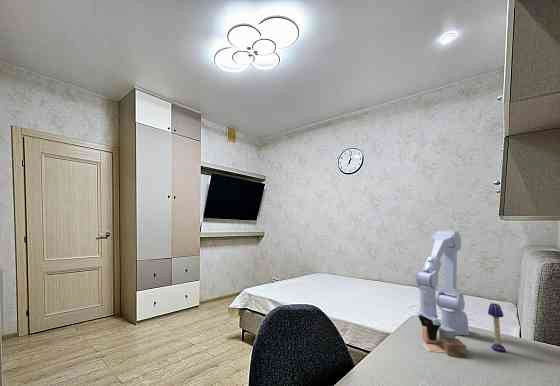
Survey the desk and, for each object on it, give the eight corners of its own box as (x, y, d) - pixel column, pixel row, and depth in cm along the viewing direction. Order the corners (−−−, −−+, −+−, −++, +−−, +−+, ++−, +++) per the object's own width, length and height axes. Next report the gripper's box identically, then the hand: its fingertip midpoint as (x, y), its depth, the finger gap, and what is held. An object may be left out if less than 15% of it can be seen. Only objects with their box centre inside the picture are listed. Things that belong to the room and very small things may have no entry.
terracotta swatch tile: (438, 345, 103) (438, 344, 103) (445, 352, 98) (445, 351, 98) (422, 344, 104) (422, 343, 104) (428, 351, 98) (428, 350, 98)
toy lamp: (507, 354, 97) (504, 306, 99) (491, 351, 99) (488, 304, 101) (504, 348, 101) (501, 303, 103) (489, 346, 104) (486, 301, 106)
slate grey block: (448, 339, 109) (447, 327, 109) (455, 344, 105) (455, 330, 105) (439, 340, 108) (438, 327, 109) (446, 344, 104) (445, 331, 105)
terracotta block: (433, 339, 108) (432, 326, 109) (437, 343, 104) (436, 330, 105) (422, 338, 109) (422, 325, 109) (426, 342, 105) (426, 329, 106)
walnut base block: (458, 349, 100) (458, 338, 101) (466, 357, 95) (465, 345, 95) (441, 348, 102) (440, 337, 102) (448, 355, 96) (447, 344, 96)
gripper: (411, 296, 116) (412, 329, 115) (424, 307, 102) (426, 344, 100) (428, 297, 115) (430, 330, 114) (444, 308, 101) (446, 346, 99)
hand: (429, 337), depth 107 cm, fingers closed on terracotta block, 4 cm apart
